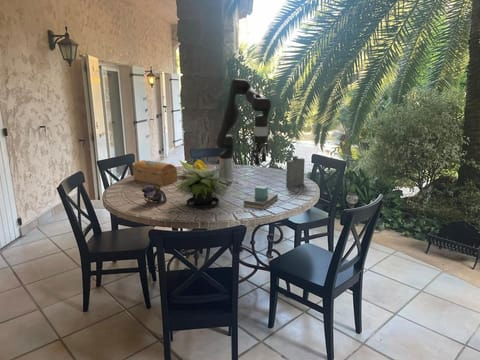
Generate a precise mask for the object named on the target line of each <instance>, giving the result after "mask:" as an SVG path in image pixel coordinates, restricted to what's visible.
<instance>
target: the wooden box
mask: <svg viewBox="0 0 480 360" xmlns="http://www.w3.org/2000/svg"><path fill="white" fill-rule="evenodd" d="M132 169H133V170H132V172H133V181H136V180H139V181H138V182H141V181H143V182H142V183H146V182H147V183H146V184H151V183H152V184H151V185H155V186H166V185H168V184H169V185H170V184H174V183H177V181H178V176H177V175H178V171H177V166H175V165H173V164H172V163H165V162H161V161H154V160H152V161H151V160H147V159H146V160H145V159H143V160H139V161H137V162H135V163H134V165H133V166H132Z"/></svg>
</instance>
